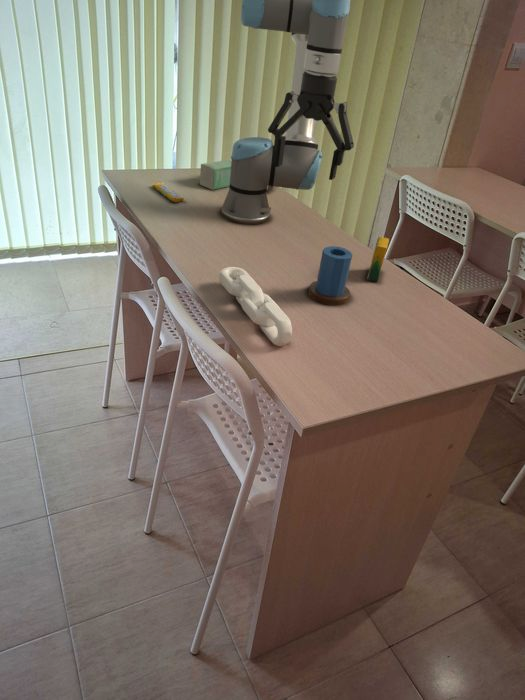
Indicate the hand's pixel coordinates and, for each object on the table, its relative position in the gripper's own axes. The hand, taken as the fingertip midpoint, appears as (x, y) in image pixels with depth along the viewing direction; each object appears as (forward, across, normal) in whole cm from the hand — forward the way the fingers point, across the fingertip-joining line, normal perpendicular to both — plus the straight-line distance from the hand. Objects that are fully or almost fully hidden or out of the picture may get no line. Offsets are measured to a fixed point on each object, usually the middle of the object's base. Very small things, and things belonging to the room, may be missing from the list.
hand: (304, 172), depth 128 cm
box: (+27, -46, +49) cm, 73 cm away
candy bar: (+27, -54, +28) cm, 67 cm away
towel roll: (+24, +14, -8) cm, 29 cm away
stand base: (+25, +13, -8) cm, 30 cm away
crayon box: (+26, +21, +10) cm, 35 cm away
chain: (+25, +1, -27) cm, 37 cm away
